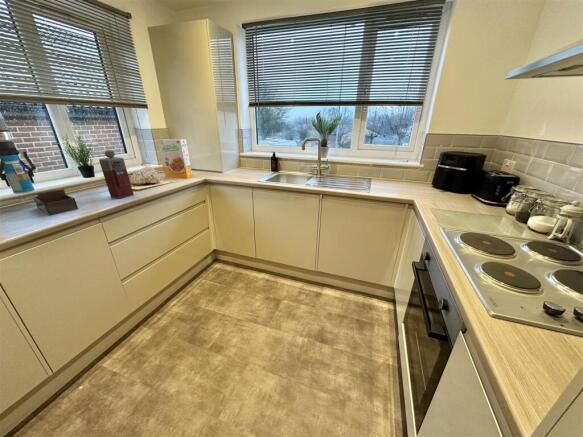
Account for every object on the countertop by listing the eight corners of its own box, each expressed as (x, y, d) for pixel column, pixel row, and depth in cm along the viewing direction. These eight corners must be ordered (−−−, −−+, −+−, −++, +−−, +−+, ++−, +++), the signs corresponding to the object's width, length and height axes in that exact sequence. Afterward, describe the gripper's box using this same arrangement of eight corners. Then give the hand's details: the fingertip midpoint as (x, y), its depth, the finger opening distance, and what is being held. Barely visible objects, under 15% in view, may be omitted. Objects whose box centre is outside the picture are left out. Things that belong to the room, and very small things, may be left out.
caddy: (37, 207, 132) (30, 191, 129) (65, 201, 141) (58, 186, 138) (49, 215, 120) (41, 197, 116) (78, 208, 129) (71, 191, 125)
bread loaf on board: (151, 179, 192) (154, 162, 184) (169, 194, 189) (174, 177, 181) (114, 186, 168) (117, 166, 160) (135, 203, 165) (139, 184, 157)
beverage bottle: (10, 195, 126) (-8, 156, 119) (16, 191, 133) (0, 154, 125) (32, 192, 130) (16, 155, 123) (37, 189, 137) (22, 153, 129)
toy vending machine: (122, 199, 144) (107, 151, 133) (110, 197, 148) (95, 150, 137) (136, 195, 151) (123, 149, 141) (124, 193, 155) (111, 149, 145)
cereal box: (165, 177, 200) (157, 139, 189) (171, 175, 206) (163, 139, 195) (187, 178, 194) (180, 139, 182) (192, 176, 199) (185, 139, 188)
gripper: (-31, 142, 111) (-8, 189, 120) (32, 139, 128) (49, 181, 136) (-32, 142, 115) (-10, 187, 124) (29, 139, 132) (45, 180, 140)
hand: (21, 184), depth 130 cm, fingers closed on beverage bottle, 8 cm apart
